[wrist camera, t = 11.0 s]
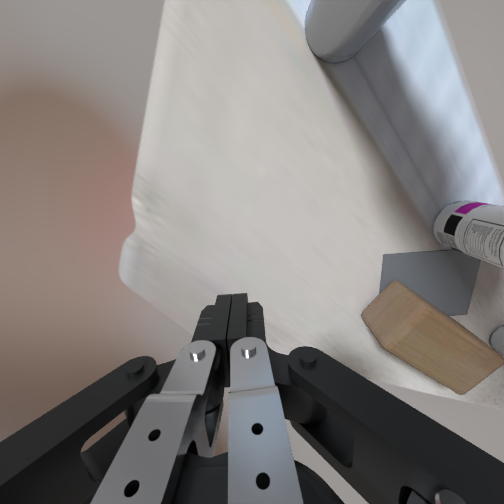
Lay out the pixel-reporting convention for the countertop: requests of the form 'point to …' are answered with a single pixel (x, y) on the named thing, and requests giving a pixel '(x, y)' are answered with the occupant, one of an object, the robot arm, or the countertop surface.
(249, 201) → the countertop surface
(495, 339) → the beverage can
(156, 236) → the countertop surface
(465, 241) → the supplement can
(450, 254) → the mat
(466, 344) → the wooden block
